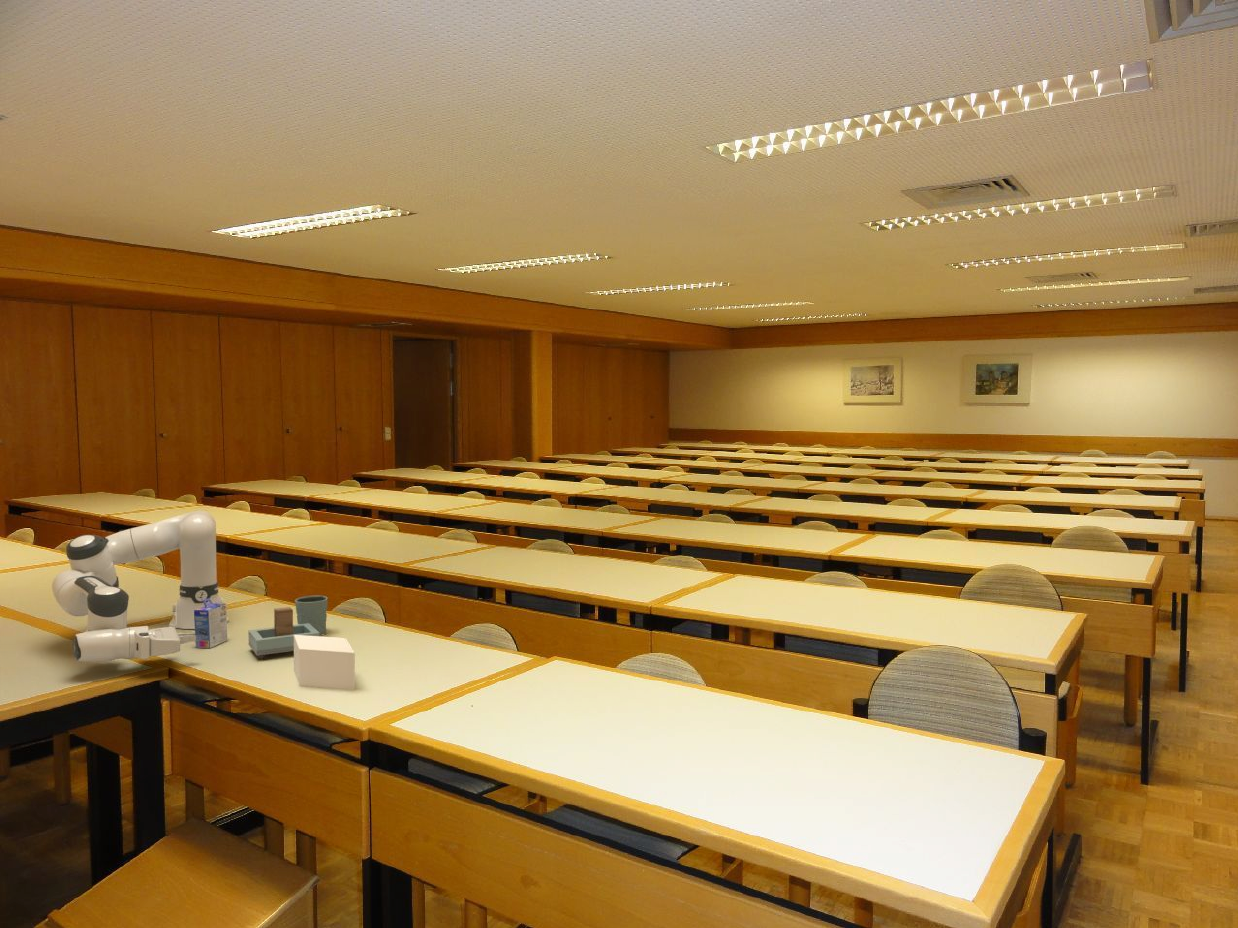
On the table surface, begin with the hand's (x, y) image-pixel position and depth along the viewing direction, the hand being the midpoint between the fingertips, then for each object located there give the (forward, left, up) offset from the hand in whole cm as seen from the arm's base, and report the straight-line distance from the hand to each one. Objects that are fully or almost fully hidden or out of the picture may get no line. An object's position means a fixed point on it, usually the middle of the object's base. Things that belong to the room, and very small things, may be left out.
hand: (195, 637), depth 245 cm
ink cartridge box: (-20, +7, -8) cm, 23 cm away
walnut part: (0, +24, -5) cm, 25 cm away
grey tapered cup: (-17, +37, -8) cm, 41 cm away
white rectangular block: (+34, +28, -8) cm, 44 cm away
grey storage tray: (0, +25, -8) cm, 26 cm away
